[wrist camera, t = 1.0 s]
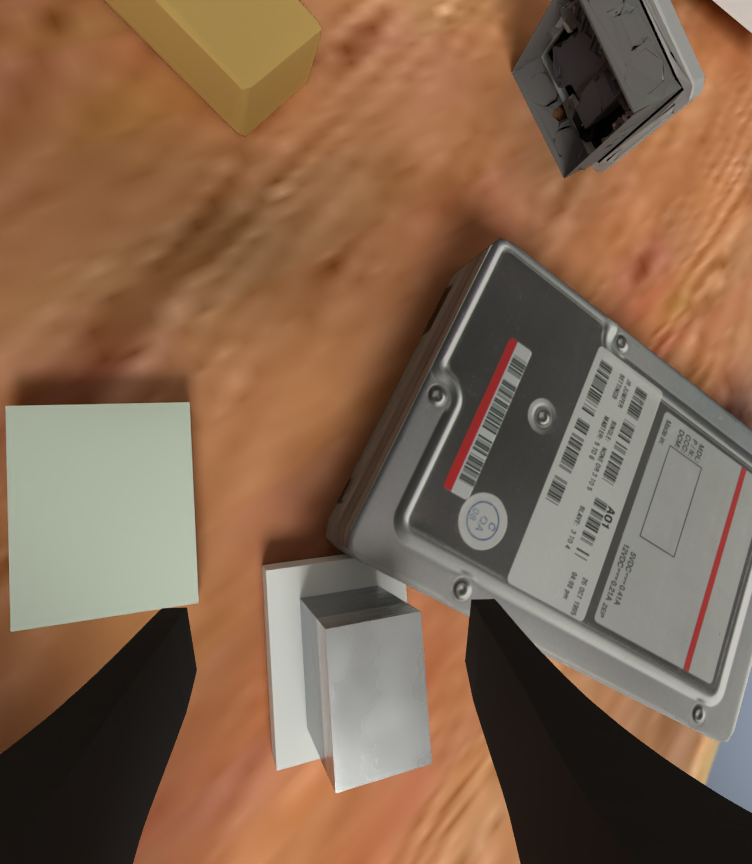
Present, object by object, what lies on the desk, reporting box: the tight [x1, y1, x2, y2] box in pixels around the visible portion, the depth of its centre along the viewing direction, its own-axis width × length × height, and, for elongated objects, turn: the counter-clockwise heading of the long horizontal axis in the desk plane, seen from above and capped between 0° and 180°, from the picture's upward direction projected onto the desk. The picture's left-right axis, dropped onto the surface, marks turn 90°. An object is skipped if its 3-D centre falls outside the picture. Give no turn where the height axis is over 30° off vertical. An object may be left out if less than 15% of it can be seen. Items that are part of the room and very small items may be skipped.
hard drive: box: [326, 238, 752, 742], centre depth 30 cm, size 18×27×4 cm
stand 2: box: [262, 554, 407, 770], centre depth 25 cm, size 9×7×2 cm
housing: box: [300, 586, 432, 793], centre depth 22 cm, size 6×4×5 cm, turn 4°
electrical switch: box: [512, 0, 705, 178], centre depth 29 cm, size 9×5×9 cm, turn 32°
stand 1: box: [5, 402, 199, 632], centre depth 22 cm, size 9×7×2 cm
